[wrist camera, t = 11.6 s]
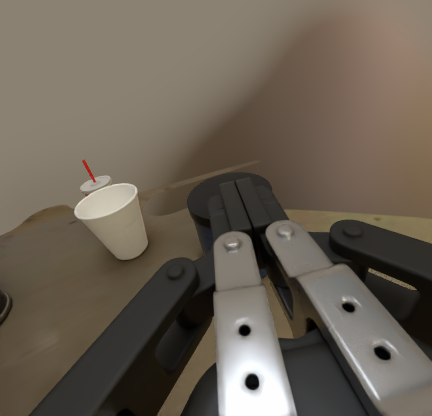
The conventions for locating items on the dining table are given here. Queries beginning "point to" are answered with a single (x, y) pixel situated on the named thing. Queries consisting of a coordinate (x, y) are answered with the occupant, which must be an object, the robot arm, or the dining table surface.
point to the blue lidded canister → (201, 197)
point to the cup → (115, 219)
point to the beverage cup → (94, 182)
